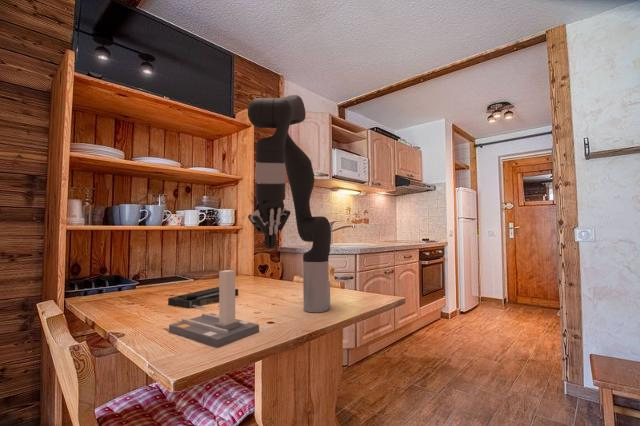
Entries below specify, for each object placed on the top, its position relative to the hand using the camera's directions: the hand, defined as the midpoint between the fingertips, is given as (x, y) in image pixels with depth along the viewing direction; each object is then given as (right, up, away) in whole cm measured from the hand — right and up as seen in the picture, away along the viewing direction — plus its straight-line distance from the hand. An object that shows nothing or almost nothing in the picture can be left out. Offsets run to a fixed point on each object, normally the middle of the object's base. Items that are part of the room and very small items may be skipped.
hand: (270, 247), depth 80 cm
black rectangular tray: (-32, -28, +47) cm, 63 cm away
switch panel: (-17, -25, +8) cm, 31 cm away
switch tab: (-13, -22, +4) cm, 26 cm away
